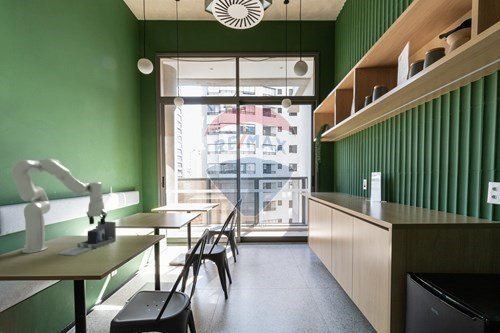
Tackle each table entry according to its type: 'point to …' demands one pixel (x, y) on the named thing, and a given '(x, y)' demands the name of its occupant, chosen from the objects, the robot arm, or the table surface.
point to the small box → (96, 236)
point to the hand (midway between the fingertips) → (97, 224)
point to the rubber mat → (75, 251)
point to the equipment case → (109, 235)
